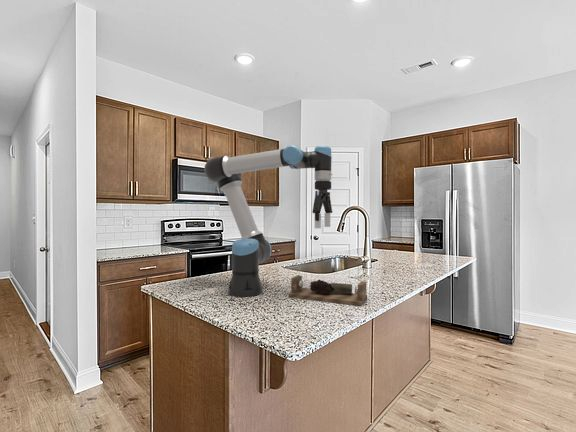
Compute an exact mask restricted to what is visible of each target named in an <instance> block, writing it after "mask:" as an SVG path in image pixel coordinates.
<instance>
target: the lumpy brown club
mask: <svg viewBox="0 0 576 432" xmlns="http://www.w3.org/2000/svg"><path fill="white" fill-rule="evenodd" d="M309 287H310V289H311V291H315V292H317V293H319V294H322V295H323V294H324V295H327V294H329V293H331V292H334V293H343V294H352V293H353V284H352V283H341V282H340V283H338V282H331V283H330V282H328V281H325V280H321V279H317V281H316V280H314V281H311V282H310V284H309Z"/></svg>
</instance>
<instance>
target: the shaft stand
mask: <svg viewBox="0 0 576 432" xmlns="http://www.w3.org/2000/svg"><path fill="white" fill-rule="evenodd" d="M290 279H291V280H290V282H291V284H290V285H291V287H290V290H291V292H289V293H288V298H291V299H292V298H294V299H301V300H306V301H307V300H309V301H316V302H322V303H323V302H324V303H331V304H333V303H334V304H340V305H347V306H348V305H349V306H355V307H362V306H363V305H364V303H365V302H366V301H367V300H368V294H367V281H360V282H359V283H358V284H357V286H355V287H354V293H353V292H352V294H343V293H334V292H331V293H329V294H327V295H324V294H323V295H322V294H319V293H317V292H315V291H311V289H310V288H307V287H304V281H303V276H302V275H301V274H300V275H299V274H298V275H295V276H294V277H291V278H290Z"/></svg>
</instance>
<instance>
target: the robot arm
mask: <svg viewBox="0 0 576 432" xmlns="http://www.w3.org/2000/svg"><path fill="white" fill-rule="evenodd" d="M283 167H289V168H290V169H294V170H295V169H296V170H301V169H314V190H315V195H314V200H313V205H312V206H313V207H312V214H314V229H322V213H321V211H322V207H323V208H324V214H323V215H324V224H323V225H324V227H325V228H330V227H331V214H332V213H333V209H332V200H331V192H330V190H331V189H332V181H331V180H332V176H333V173H332V147H330V146H329V145H318V146H315V147H314V150H313V151H303V150H302V149H301V148H300V147H299V146H295V145H288V146H287V147H285V148H280V149H274V150H269V151H260V152H256V153H249V154H242V155H235V156H231V157H230V156H228V155H222V156H215V157H211V158H209V159H208V160H207V161H206V163H205V164H204V169H203V170H204V175H205V176H206V178H207V179H208V180H209V181H211V182H213V183H216V185H217V186H218V188H219V190H220V191H221V192H223V193H224V195H225V198H226V201H227V203H228V205H229V208H230V212H231V213H232V216H233V218H234V221H235V223H236V226H237V229H238V231H239V233H240V236H241V238H240V239H236V240H235V241H233V242H232V246H231V259H232V261H231V266H232V267H231V270H232V271H231V272H232V273H231V274H232V275H231V279H230V282H229V285H228V290H227V294H228V295H230V296H234V297H255V296H257V295H260V294H262V293H263V285H262V282H261V278H260V275H259V265H260V264H264V263H265V262H266V261H267V260H269V258H270V256H271V254H272V245H271V243H270V242H269V241H268V240H267V239H265V236H264V233H263V232H261V231H259V230H258V226H257V224H256V222H255V220H254V217H253V214H252V212H251V209H250V206H249V204H248V202H247V199H246V196H245V194H244V191H243V189H242V184H243V180H242V174H244V173H251V172H255V171H264V170H270V169H277V168H283ZM328 190H329V191H328Z"/></svg>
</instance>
